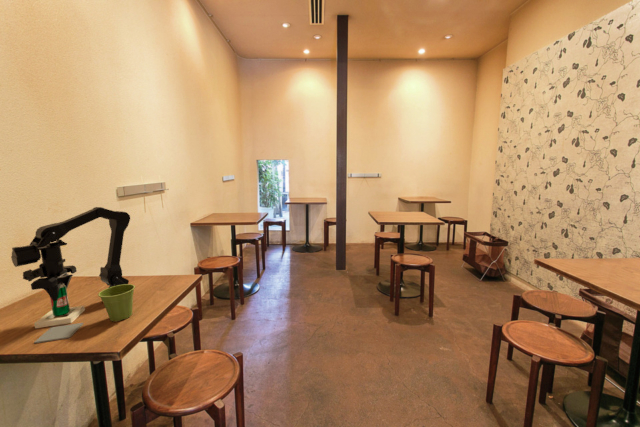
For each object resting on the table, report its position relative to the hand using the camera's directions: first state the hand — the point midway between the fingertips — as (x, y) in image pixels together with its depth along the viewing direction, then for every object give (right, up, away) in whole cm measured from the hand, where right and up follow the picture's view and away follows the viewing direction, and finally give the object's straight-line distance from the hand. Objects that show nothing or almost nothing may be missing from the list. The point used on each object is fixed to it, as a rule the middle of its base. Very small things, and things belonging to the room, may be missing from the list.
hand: (59, 297), depth 116 cm
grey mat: (+9, -10, -10) cm, 16 cm away
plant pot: (+24, -8, +1) cm, 25 cm away
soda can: (0, -7, +1) cm, 7 cm away
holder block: (0, -9, +1) cm, 9 cm away
